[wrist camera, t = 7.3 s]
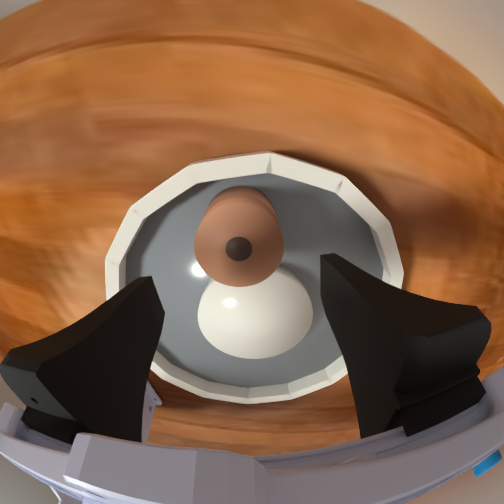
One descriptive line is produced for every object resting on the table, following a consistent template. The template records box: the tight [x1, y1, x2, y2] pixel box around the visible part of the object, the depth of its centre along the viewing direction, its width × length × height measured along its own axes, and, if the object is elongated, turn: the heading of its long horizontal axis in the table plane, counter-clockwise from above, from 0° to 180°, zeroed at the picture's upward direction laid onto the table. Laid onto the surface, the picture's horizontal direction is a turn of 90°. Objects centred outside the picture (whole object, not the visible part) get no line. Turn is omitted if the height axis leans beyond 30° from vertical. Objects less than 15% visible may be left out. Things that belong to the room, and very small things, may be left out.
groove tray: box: [105, 151, 404, 404], centre depth 22 cm, size 24×24×2 cm
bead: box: [194, 186, 284, 287], centre depth 16 cm, size 5×5×5 cm
